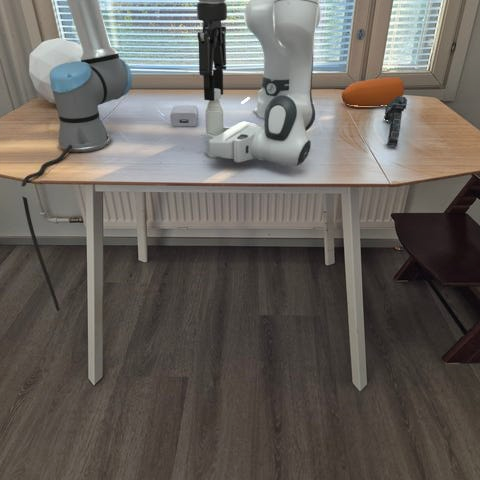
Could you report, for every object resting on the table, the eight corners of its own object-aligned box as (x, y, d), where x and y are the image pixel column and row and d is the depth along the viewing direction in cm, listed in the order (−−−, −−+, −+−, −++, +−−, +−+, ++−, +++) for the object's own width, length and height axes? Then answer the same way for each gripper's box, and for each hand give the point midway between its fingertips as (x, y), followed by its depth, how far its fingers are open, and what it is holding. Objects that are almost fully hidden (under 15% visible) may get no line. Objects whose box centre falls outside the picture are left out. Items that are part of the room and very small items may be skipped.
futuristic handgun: (389, 146, 153) (397, 104, 149) (399, 145, 125) (409, 94, 122) (379, 144, 154) (386, 103, 150) (386, 144, 126) (395, 93, 122)
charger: (199, 113, 156) (197, 126, 144) (175, 113, 156) (171, 126, 143) (198, 100, 153) (196, 113, 141) (174, 100, 153) (170, 113, 141)
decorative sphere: (40, 71, 170) (16, 23, 147) (101, 69, 175) (88, 22, 151) (40, 120, 164) (15, 77, 140) (104, 116, 168) (91, 75, 144)
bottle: (207, 157, 122) (205, 94, 111) (206, 151, 126) (204, 89, 115) (224, 157, 122) (223, 93, 112) (222, 150, 126) (221, 88, 116)
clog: (345, 115, 162) (406, 107, 163) (347, 87, 156) (410, 79, 157) (336, 106, 172) (394, 98, 173) (337, 80, 166) (397, 72, 167)
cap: (207, 99, 112) (207, 92, 111) (206, 95, 116) (206, 88, 114) (221, 99, 113) (221, 91, 112) (220, 95, 116) (219, 88, 115)
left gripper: (212, -2, 109) (214, 87, 122) (181, 4, 95) (187, 104, 108) (238, -1, 107) (237, 90, 120) (210, 5, 93) (213, 107, 106)
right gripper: (269, 120, 121) (229, 113, 126) (235, 142, 106) (192, 132, 111) (268, 141, 124) (229, 132, 130) (235, 164, 110) (193, 154, 115)
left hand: (213, 96), depth 114 cm, fingers open, 6 cm apart
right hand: (212, 133), depth 121 cm, fingers closed on bottle, 5 cm apart
